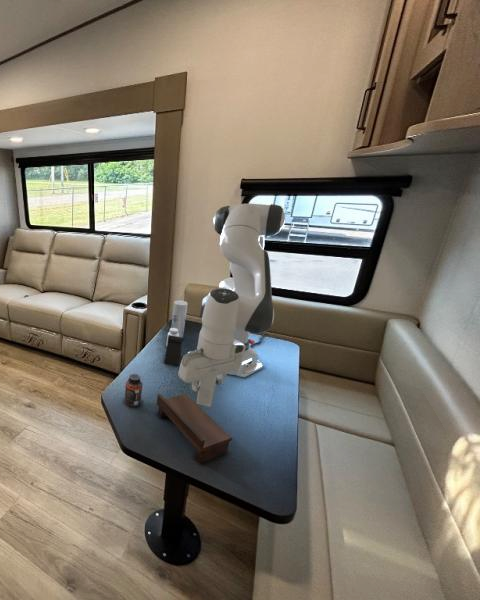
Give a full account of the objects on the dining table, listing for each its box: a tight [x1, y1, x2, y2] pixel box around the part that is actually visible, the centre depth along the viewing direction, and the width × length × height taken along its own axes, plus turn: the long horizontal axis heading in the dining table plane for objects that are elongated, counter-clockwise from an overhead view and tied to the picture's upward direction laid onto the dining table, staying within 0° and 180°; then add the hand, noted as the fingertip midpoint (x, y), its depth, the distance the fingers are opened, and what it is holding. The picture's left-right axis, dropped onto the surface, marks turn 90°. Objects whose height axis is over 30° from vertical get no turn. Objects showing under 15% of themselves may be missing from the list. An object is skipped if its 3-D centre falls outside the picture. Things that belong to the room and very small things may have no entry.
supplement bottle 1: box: [124, 373, 143, 408], centre depth 116 cm, size 6×6×11 cm
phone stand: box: [163, 335, 184, 367], centre depth 143 cm, size 9×6×12 cm, turn 156°
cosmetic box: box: [195, 369, 218, 408], centre depth 93 cm, size 6×4×12 cm
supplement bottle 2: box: [165, 327, 179, 347], centre depth 155 cm, size 5×5×10 cm
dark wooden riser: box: [156, 393, 233, 464], centre depth 103 cm, size 12×22×9 cm, turn 21°
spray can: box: [170, 299, 189, 339], centre depth 162 cm, size 6×6×20 cm
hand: (206, 386), depth 94 cm, fingers closed on cosmetic box, 7 cm apart
